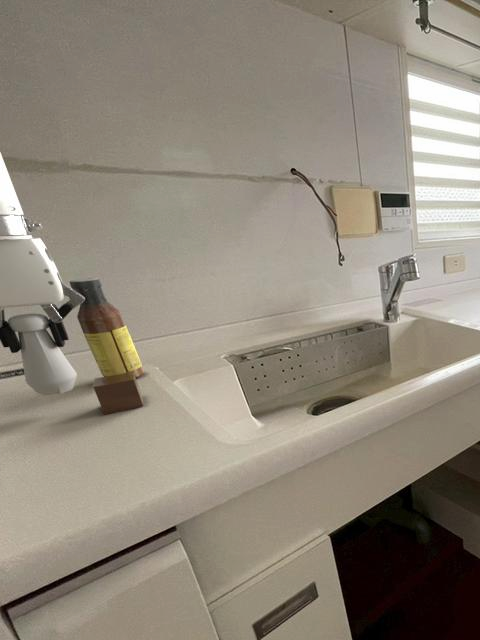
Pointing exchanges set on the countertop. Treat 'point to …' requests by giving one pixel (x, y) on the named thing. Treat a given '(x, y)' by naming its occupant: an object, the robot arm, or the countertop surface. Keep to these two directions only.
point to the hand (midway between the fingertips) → (39, 346)
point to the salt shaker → (42, 356)
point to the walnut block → (118, 392)
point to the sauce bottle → (105, 331)
